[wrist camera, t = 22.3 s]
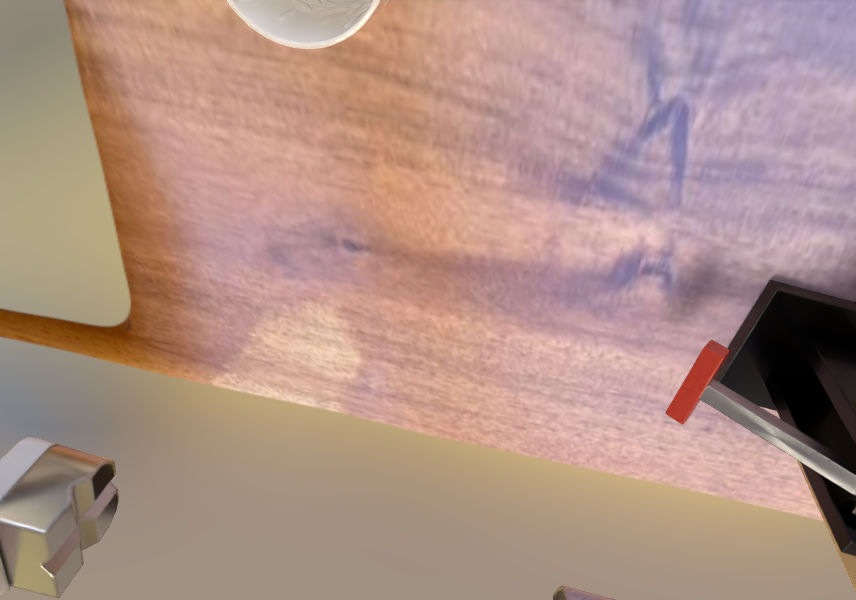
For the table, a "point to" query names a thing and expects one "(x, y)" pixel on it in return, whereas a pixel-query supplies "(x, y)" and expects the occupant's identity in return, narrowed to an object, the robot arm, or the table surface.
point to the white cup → (306, 19)
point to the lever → (756, 419)
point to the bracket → (804, 380)
